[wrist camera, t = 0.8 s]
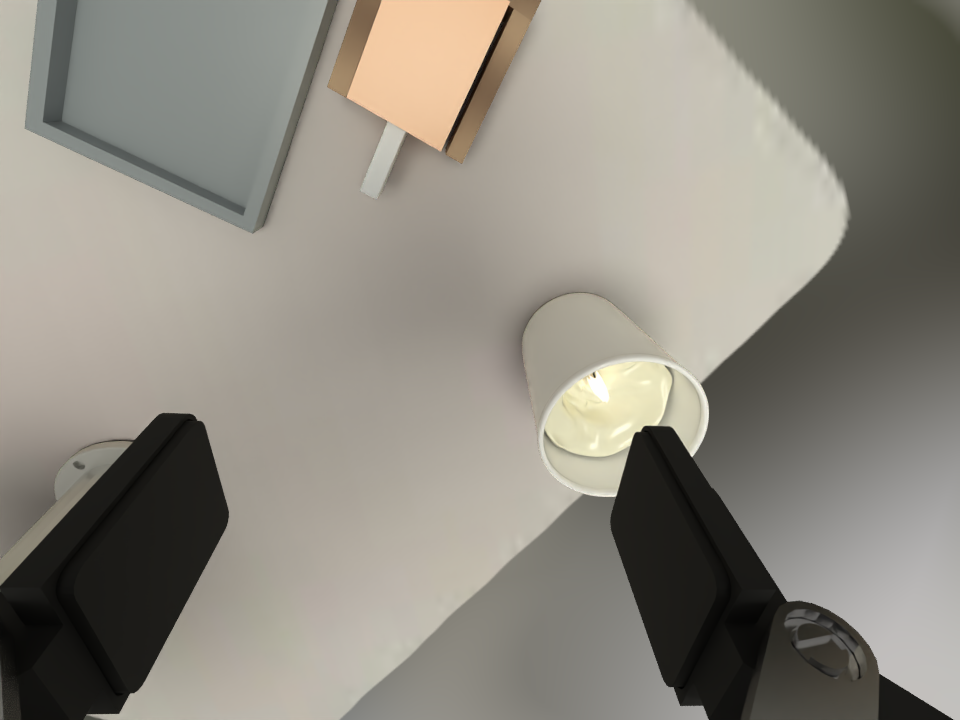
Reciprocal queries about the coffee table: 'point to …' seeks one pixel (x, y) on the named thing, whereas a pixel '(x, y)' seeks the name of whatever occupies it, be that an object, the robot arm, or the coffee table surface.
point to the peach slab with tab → (420, 71)
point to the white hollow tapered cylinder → (602, 391)
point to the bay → (488, 82)
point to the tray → (179, 92)
